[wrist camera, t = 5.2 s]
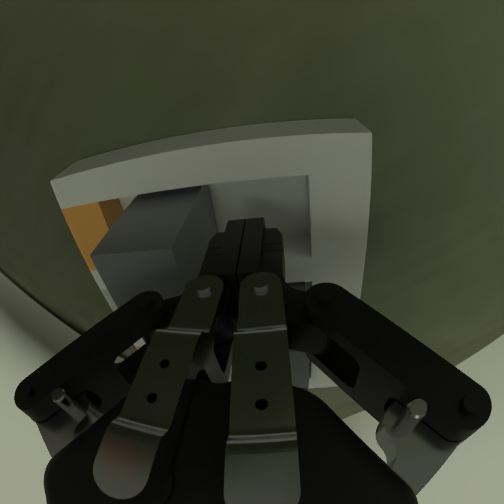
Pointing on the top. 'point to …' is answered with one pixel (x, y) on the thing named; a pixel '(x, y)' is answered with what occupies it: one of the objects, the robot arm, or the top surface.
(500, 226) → the top surface
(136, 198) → the tab
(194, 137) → the switch bank
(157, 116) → the top surface
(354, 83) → the top surface
